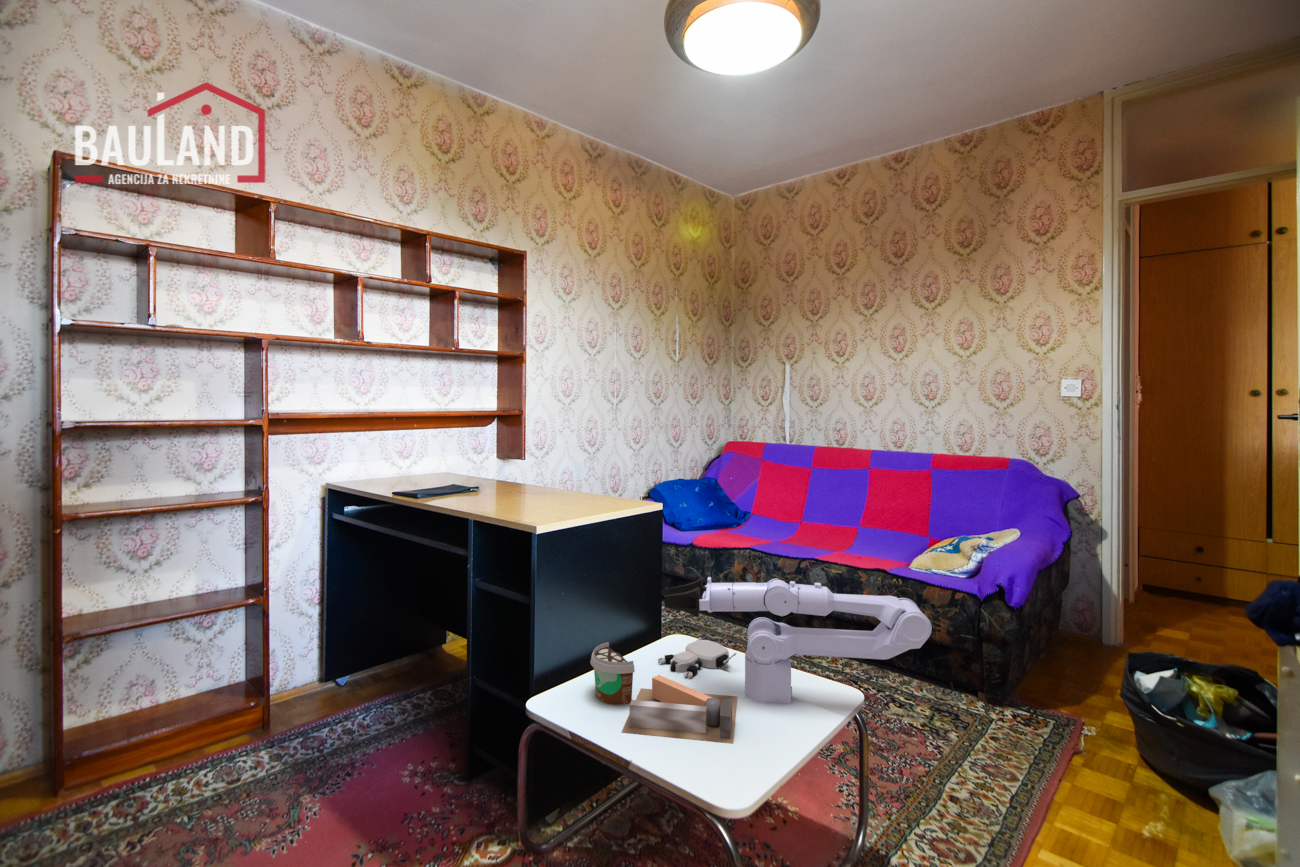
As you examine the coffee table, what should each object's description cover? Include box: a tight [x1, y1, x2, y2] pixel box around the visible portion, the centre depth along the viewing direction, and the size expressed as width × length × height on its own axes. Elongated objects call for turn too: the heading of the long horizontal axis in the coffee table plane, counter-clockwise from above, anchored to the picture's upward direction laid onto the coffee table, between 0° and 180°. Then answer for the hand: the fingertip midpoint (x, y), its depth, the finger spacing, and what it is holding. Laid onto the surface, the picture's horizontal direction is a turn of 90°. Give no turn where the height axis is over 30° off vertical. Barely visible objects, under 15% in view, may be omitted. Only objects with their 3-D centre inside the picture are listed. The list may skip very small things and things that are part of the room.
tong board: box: [620, 688, 739, 745], centre depth 117 cm, size 20×18×5 cm
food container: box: [589, 642, 636, 706], centre depth 124 cm, size 12×6×10 cm, turn 29°
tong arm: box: [651, 674, 720, 726], centre depth 118 cm, size 16×3×4 cm, turn 44°
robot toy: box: [657, 637, 737, 679], centre depth 141 cm, size 12×4×15 cm
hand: (667, 597), depth 128 cm, fingers open, 7 cm apart
